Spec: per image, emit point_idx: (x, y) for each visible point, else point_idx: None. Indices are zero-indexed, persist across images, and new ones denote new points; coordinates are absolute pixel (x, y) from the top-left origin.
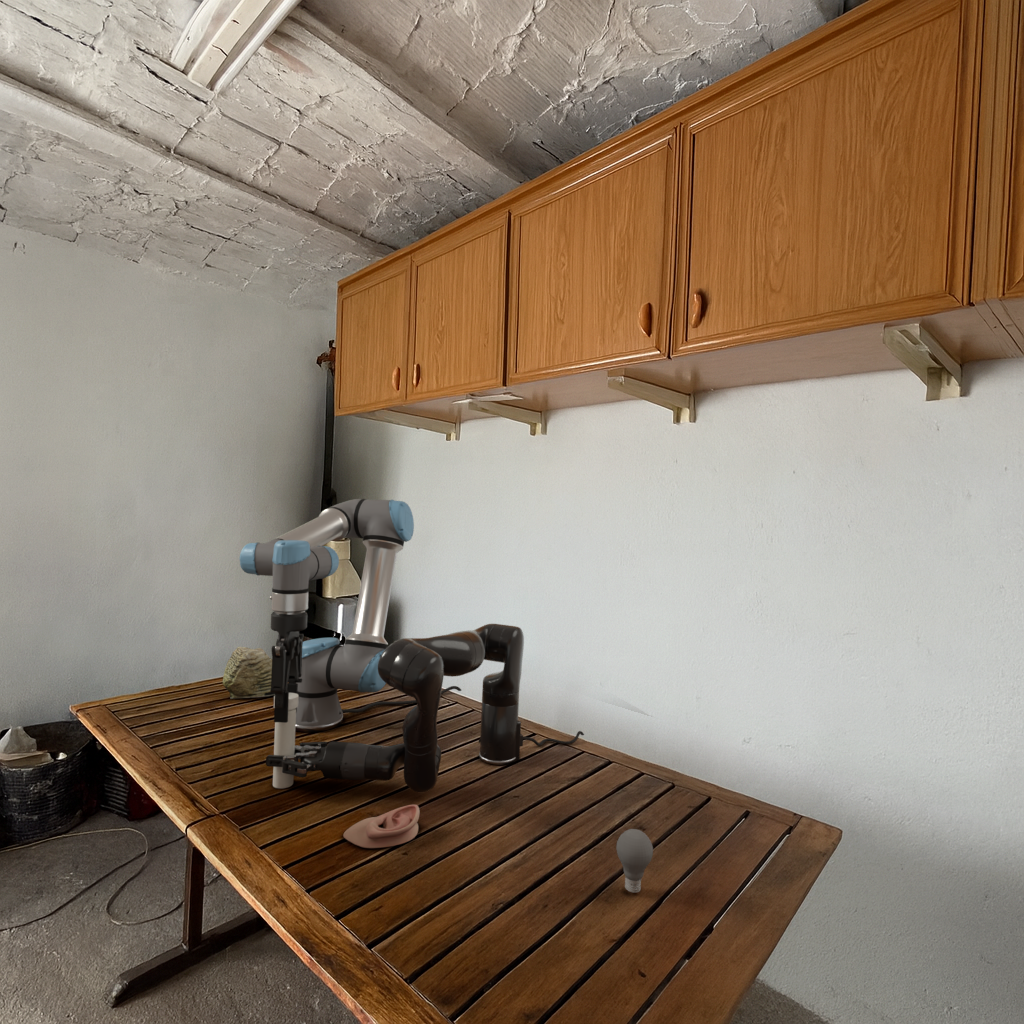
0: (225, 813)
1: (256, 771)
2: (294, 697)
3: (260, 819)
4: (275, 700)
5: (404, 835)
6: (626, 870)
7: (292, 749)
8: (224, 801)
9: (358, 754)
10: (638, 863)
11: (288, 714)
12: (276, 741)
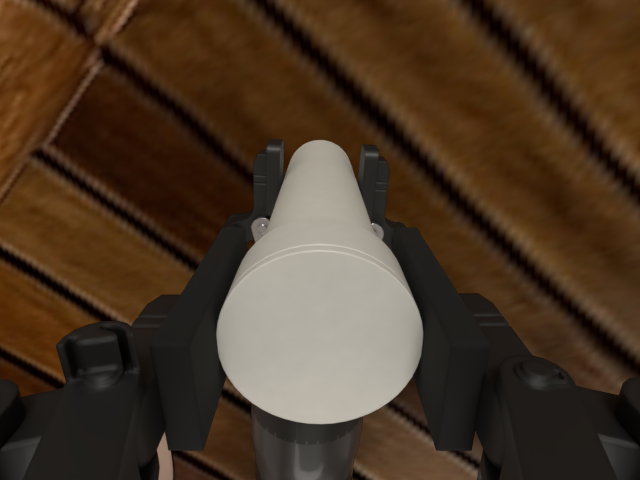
0: (104, 66)
1: (415, 39)
2: (291, 410)
3: (100, 185)
4: (181, 302)
5: None
6: None
7: None
8: (176, 23)
9: (264, 465)
10: None
11: None
12: (279, 195)
